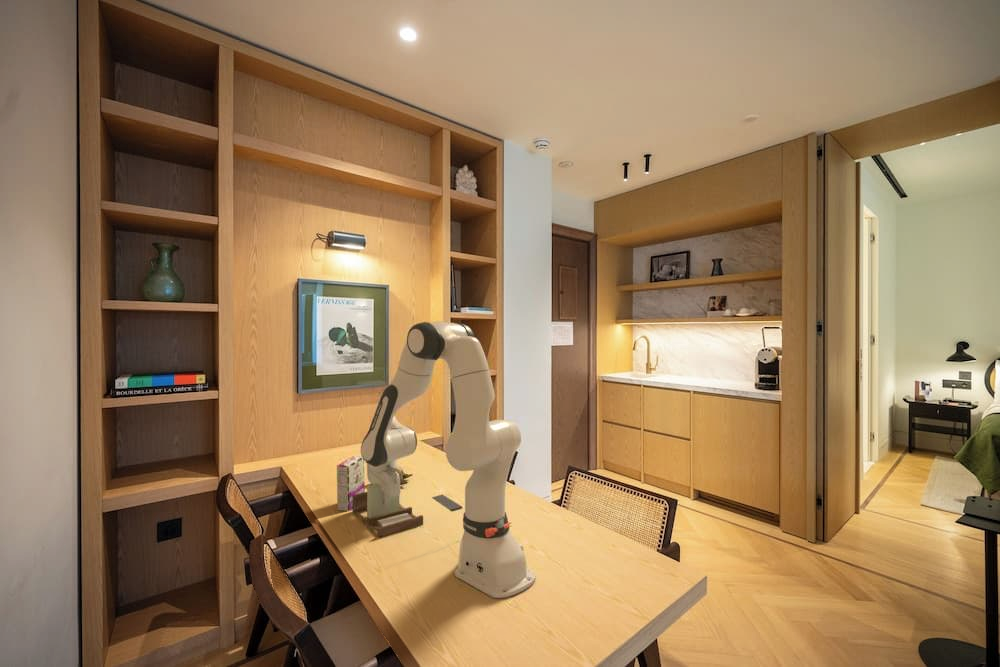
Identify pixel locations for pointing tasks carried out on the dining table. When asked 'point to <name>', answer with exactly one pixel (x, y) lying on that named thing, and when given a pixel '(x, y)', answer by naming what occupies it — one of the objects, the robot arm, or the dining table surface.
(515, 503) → the dining table surface
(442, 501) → the rubber mat
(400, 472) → the ceramic sculpture
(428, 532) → the dining table surface
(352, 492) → the candy bar box
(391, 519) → the upper offcut
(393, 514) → the frame
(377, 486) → the beige rectangular block
